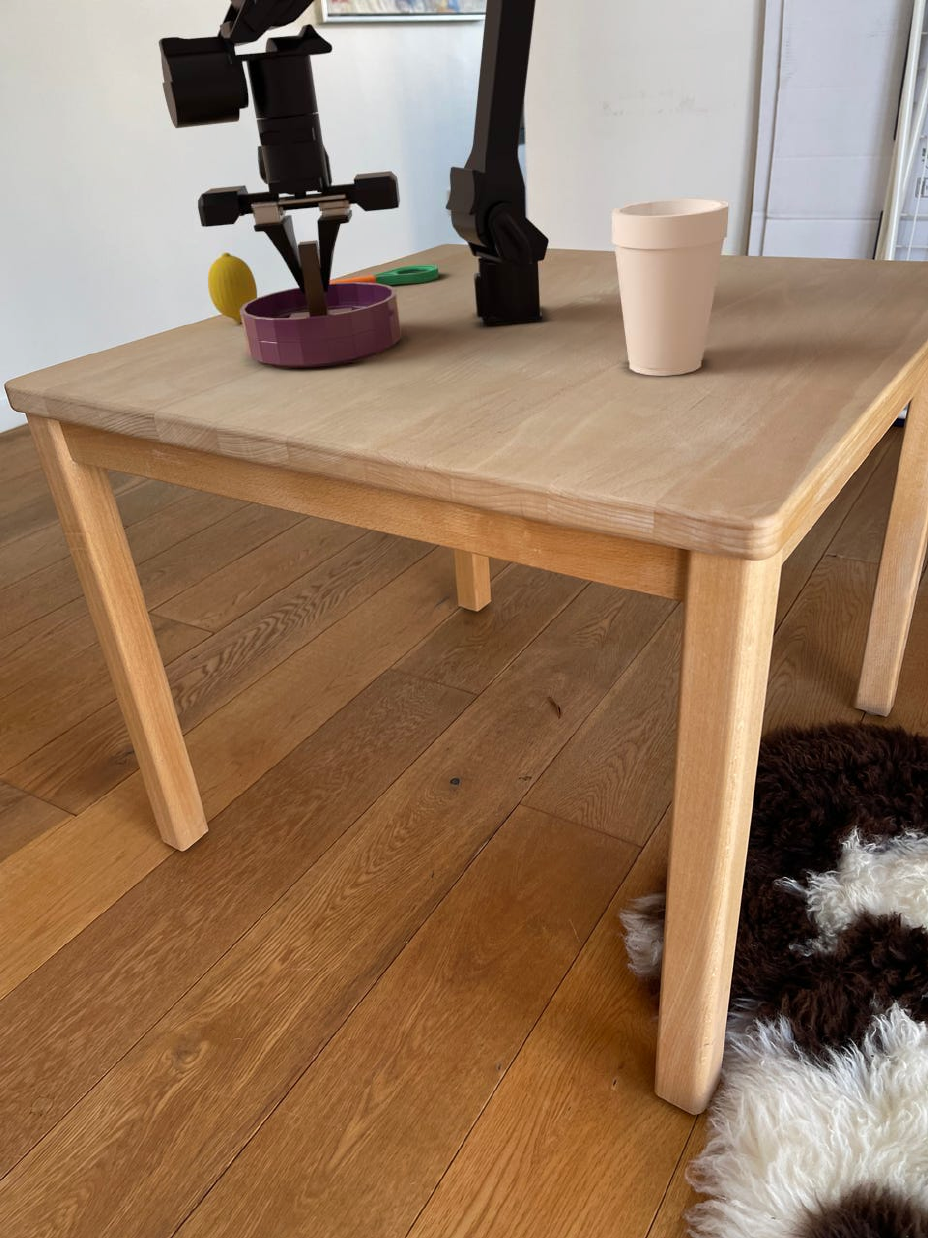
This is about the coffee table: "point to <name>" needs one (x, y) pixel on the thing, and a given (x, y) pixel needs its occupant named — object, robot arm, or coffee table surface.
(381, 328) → the bowl
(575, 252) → the coffee table surface
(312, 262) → the brush
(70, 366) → the coffee table surface
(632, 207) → the foam cup
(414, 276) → the magnifying glass
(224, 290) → the lemon
